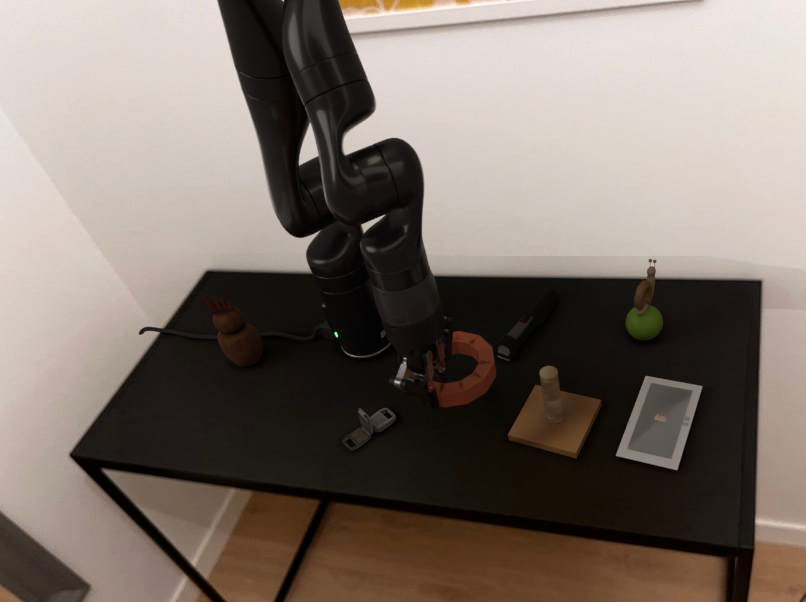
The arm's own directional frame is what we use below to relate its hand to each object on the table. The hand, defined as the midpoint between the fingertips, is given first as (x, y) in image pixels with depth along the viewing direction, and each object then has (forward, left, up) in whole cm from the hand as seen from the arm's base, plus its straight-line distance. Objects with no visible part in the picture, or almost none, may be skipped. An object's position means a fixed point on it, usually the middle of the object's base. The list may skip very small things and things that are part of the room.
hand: (436, 398), depth 97 cm
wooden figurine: (-42, +4, -8) cm, 43 cm away
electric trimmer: (+2, +24, -8) cm, 25 cm away
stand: (+14, +7, -8) cm, 17 cm away
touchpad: (+27, +11, -8) cm, 31 cm away
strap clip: (-12, -3, -8) cm, 14 cm away
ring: (0, +5, 0) cm, 5 cm away
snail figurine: (+20, +28, -8) cm, 36 cm away
